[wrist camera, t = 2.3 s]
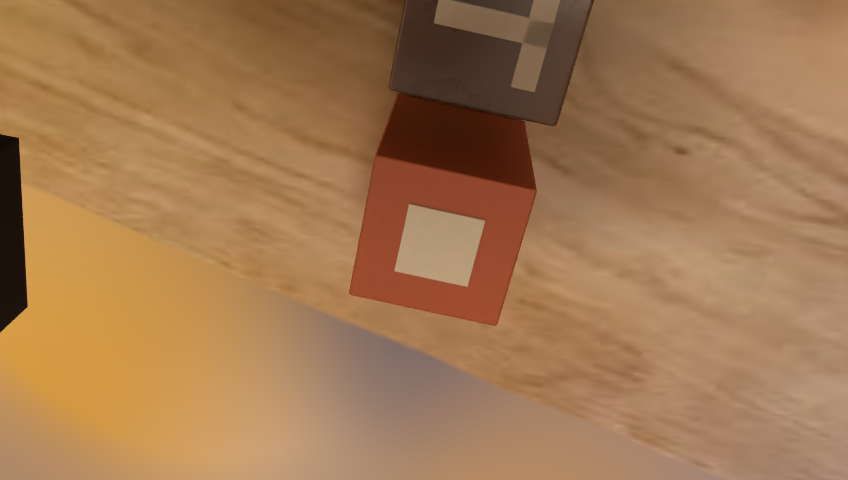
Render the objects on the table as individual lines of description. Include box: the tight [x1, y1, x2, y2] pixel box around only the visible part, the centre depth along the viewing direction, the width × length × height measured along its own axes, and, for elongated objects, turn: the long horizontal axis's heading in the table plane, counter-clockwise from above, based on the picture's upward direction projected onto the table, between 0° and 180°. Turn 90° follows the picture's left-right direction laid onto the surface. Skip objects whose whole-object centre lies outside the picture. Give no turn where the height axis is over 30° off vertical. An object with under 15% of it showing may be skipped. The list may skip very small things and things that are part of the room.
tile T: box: [389, 0, 594, 126], centre depth 24 cm, size 5×5×7 cm
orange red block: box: [349, 94, 537, 326], centre depth 27 cm, size 5×5×7 cm
